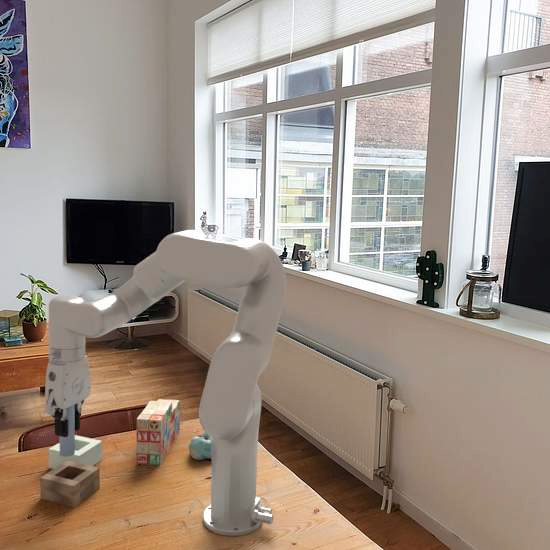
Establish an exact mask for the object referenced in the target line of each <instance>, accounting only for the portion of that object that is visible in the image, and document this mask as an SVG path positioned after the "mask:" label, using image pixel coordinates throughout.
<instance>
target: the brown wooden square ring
mask: <svg viewBox="0 0 550 550" xmlns="http://www.w3.org/2000/svg"><path fill="white" fill-rule="evenodd" d="M100 471H101V470H100V467H98V466H95V465H94V466H89V465H85V464H81V463H76V462H72V461H68V460H67V461H66V462H64V463H62V464H61V465H59V466H58V467H56V468H55V469H51V470H50V471H48V472H47V473H45V474H44V475H42V476H40V477H39V485H40V486H39V487H40V499H41V500H44V501H48V502H52V503H56V504H60V505H63V506H67V507H70V508H75V507H77V506H78V505H79V504H81V503H83V501H84V500H86V499H87V498H89V497H90V496H91V495H93V494H94V493H95V492H97V491H98V490H99V489H100V488H101V487H100V486H101V485H100V484H101V483H100V481H101V480H100V479H101V478H100Z"/></svg>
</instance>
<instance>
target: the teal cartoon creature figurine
mask: <svg viewBox="0 0 550 550" xmlns="http://www.w3.org/2000/svg"><path fill="white" fill-rule="evenodd" d="M188 452H189V456H191V457H192V458H193V459H194V460H197V461H203V460H206V459H210V460H212V437H210V436H209V435H208V434H207V433H206V432H205V431H204V432H203V433H202V434H201V435H196V436H193V437H192V438H191V440H190V443H189V444H188Z"/></svg>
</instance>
